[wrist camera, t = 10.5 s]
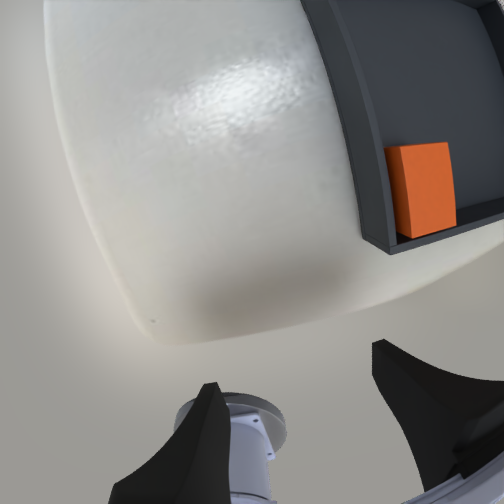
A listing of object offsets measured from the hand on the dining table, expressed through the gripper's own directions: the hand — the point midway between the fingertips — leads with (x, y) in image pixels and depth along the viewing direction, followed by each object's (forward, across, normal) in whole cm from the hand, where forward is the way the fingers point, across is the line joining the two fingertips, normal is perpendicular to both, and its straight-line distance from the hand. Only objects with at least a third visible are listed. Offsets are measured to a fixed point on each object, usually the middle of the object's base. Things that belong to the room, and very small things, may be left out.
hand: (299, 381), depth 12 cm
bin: (+10, -19, -14) cm, 26 cm away
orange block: (+10, -11, -6) cm, 16 cm away
